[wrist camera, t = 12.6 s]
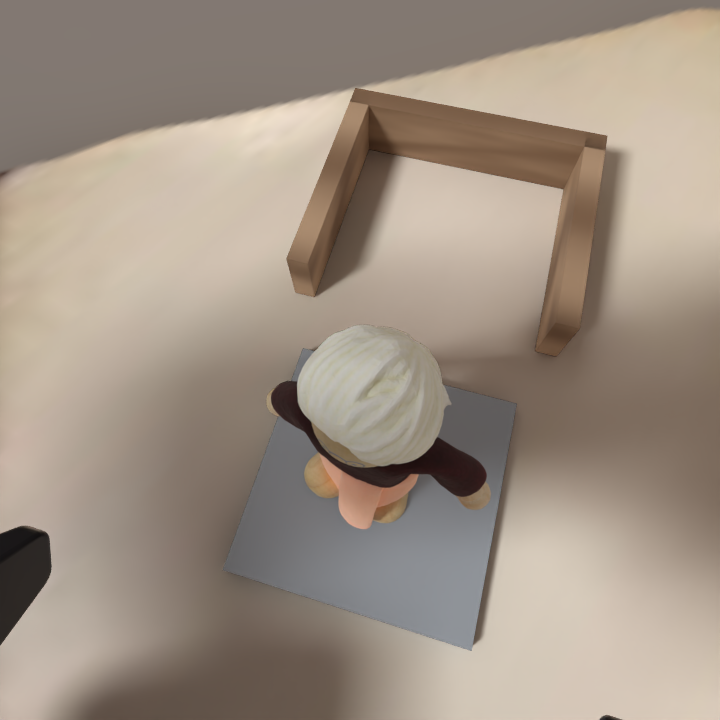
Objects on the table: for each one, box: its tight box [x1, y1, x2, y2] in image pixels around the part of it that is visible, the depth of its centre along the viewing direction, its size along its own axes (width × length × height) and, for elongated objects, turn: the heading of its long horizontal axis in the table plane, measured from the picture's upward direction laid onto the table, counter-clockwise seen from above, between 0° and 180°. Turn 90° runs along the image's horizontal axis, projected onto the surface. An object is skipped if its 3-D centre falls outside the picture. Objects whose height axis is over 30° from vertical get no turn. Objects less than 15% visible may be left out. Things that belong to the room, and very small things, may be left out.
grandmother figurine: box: [266, 325, 491, 529], centre depth 16 cm, size 8×4×13 cm, turn 75°
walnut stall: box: [286, 88, 607, 356], centre depth 26 cm, size 11×13×3 cm
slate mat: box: [223, 348, 517, 651], centre depth 22 cm, size 10×10×1 cm
